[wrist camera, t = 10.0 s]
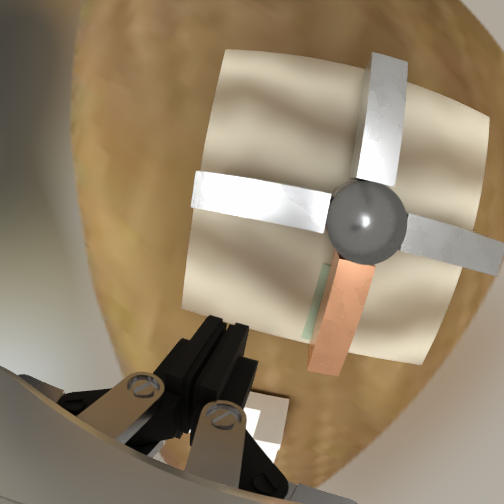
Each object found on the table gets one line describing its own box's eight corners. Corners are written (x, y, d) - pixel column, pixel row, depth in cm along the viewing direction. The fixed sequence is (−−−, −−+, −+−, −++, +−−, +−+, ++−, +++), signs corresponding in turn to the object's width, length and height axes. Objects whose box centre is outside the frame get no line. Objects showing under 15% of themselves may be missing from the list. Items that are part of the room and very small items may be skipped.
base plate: (230, 55, 22) (225, 48, 20) (481, 120, 18) (490, 117, 16) (187, 302, 28) (180, 309, 27) (417, 356, 25) (421, 366, 23)
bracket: (290, 393, 29) (280, 444, 22) (279, 432, 31) (269, 479, 24) (178, 367, 31) (147, 407, 24) (180, 407, 33) (155, 447, 26)
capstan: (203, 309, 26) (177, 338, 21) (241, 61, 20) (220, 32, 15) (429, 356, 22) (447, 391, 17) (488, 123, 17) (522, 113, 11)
